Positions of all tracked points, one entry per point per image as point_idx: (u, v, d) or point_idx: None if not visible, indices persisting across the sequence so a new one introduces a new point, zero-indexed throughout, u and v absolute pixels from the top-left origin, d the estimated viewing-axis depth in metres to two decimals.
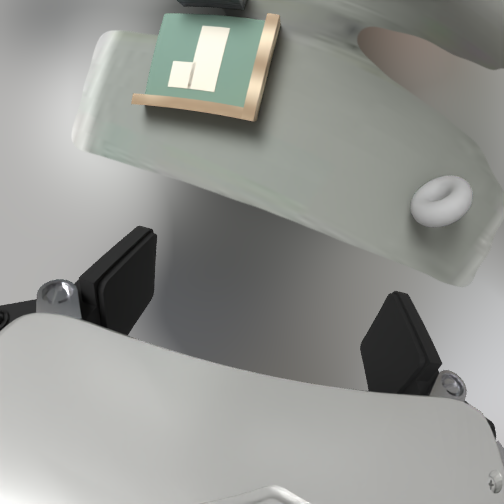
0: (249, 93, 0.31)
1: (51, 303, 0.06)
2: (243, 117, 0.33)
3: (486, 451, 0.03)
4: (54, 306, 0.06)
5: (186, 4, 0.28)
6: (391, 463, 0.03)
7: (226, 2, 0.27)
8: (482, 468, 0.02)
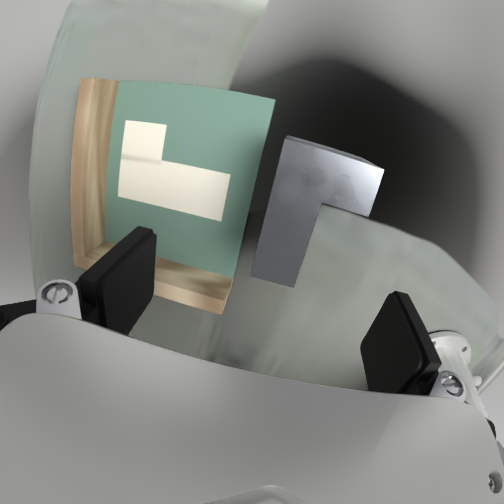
0: None
1: (51, 303, 0.06)
2: (74, 255, 0.23)
3: (486, 451, 0.03)
4: (54, 306, 0.06)
5: None
6: (391, 463, 0.03)
7: None
8: (482, 468, 0.02)
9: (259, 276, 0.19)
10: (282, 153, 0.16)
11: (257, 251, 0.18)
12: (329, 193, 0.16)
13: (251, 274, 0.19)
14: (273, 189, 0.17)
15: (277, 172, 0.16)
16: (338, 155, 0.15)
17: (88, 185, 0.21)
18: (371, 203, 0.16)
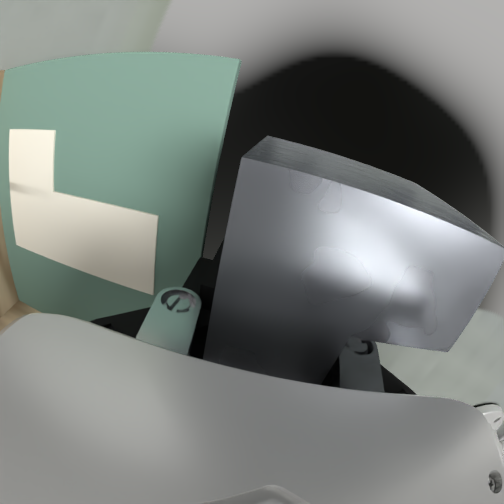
0: None
1: (168, 308, 0.07)
2: None
3: (486, 451, 0.03)
4: (170, 313, 0.07)
5: None
6: (391, 463, 0.03)
7: None
8: (482, 468, 0.02)
9: None
10: (236, 206, 0.05)
11: None
12: (374, 315, 0.05)
13: None
14: (216, 307, 0.06)
15: (223, 264, 0.05)
16: (415, 213, 0.04)
17: None
18: (463, 327, 0.05)
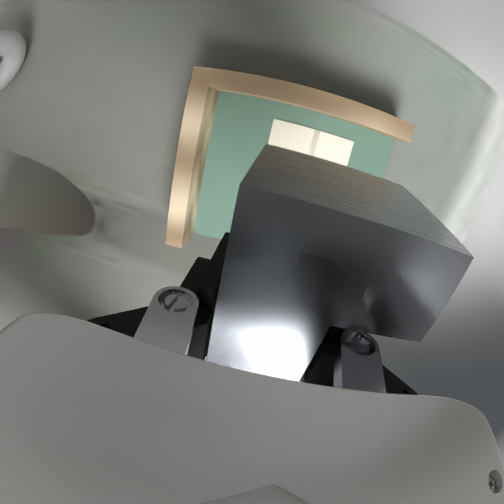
0: (199, 110, 0.19)
1: (166, 308, 0.07)
2: (209, 70, 0.18)
3: (486, 451, 0.03)
4: (167, 312, 0.07)
5: None
6: (391, 463, 0.03)
7: None
8: (482, 468, 0.02)
9: None
10: (235, 222, 0.06)
11: None
12: (350, 308, 0.07)
13: None
14: (220, 300, 0.07)
15: (226, 266, 0.07)
16: (383, 227, 0.06)
17: (296, 104, 0.19)
18: (432, 321, 0.07)
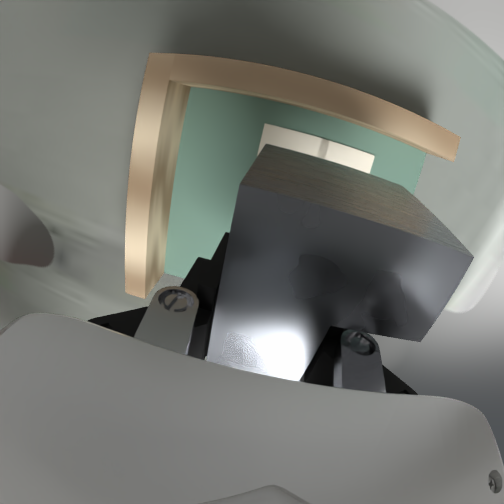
0: (156, 114, 0.13)
1: (166, 308, 0.07)
2: (169, 57, 0.12)
3: (486, 451, 0.03)
4: (167, 312, 0.07)
5: None
6: (391, 463, 0.03)
7: None
8: (482, 468, 0.02)
9: None
10: (235, 222, 0.06)
11: None
12: (350, 308, 0.07)
13: None
14: (220, 300, 0.07)
15: (226, 266, 0.07)
16: (383, 227, 0.06)
17: (296, 102, 0.13)
18: (432, 321, 0.07)
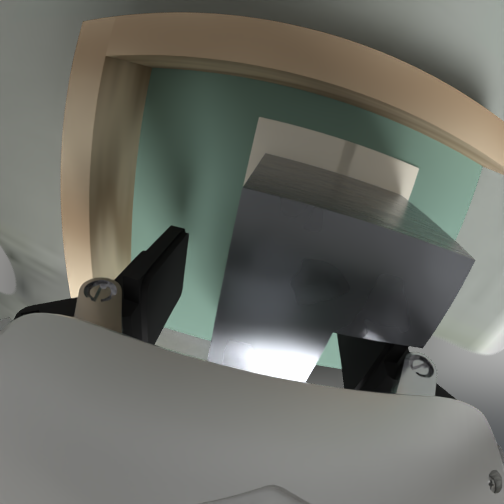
0: (88, 110, 0.08)
1: (92, 300, 0.06)
2: (108, 23, 0.06)
3: (486, 451, 0.03)
4: (95, 303, 0.06)
5: None
6: (391, 463, 0.03)
7: None
8: (482, 468, 0.02)
9: None
10: (238, 226, 0.06)
11: None
12: (352, 315, 0.07)
13: None
14: (221, 307, 0.07)
15: (227, 272, 0.07)
16: (385, 230, 0.06)
17: (309, 81, 0.07)
18: (435, 326, 0.07)
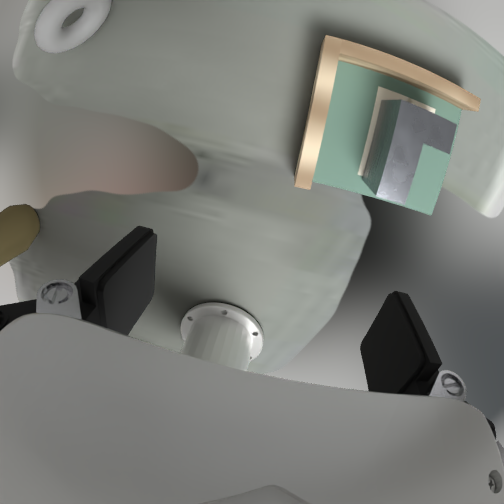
0: (332, 71, 0.21)
1: (51, 303, 0.06)
2: (339, 40, 0.19)
3: (486, 451, 0.03)
4: (54, 306, 0.06)
5: (382, 108, 0.24)
6: (391, 463, 0.03)
7: (372, 167, 0.25)
8: (482, 468, 0.02)
9: (382, 196, 0.23)
10: (400, 108, 0.19)
11: (383, 176, 0.22)
12: (427, 137, 0.20)
13: (377, 195, 0.23)
14: (395, 132, 0.20)
15: (397, 121, 0.20)
16: (432, 113, 0.19)
17: (402, 76, 0.20)
18: (451, 145, 0.20)
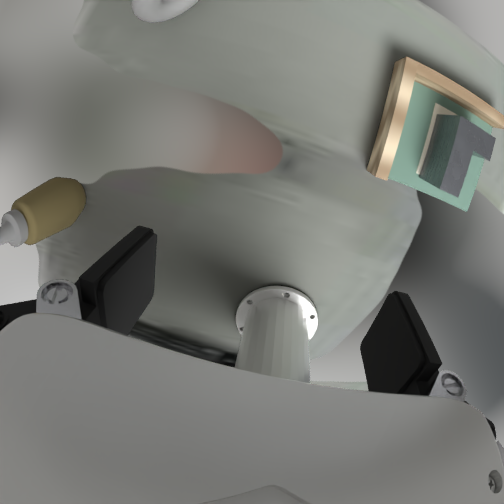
0: (410, 86, 0.24)
1: (51, 303, 0.06)
2: (415, 62, 0.23)
3: (486, 451, 0.03)
4: (54, 306, 0.06)
5: (439, 120, 0.27)
6: (391, 463, 0.03)
7: (432, 167, 0.28)
8: (482, 468, 0.02)
9: (444, 189, 0.26)
10: (459, 122, 0.22)
11: (445, 174, 0.25)
12: (476, 146, 0.23)
13: (440, 188, 0.26)
14: (455, 140, 0.23)
15: (457, 131, 0.23)
16: (480, 128, 0.22)
17: (456, 97, 0.24)
18: (491, 154, 0.23)
